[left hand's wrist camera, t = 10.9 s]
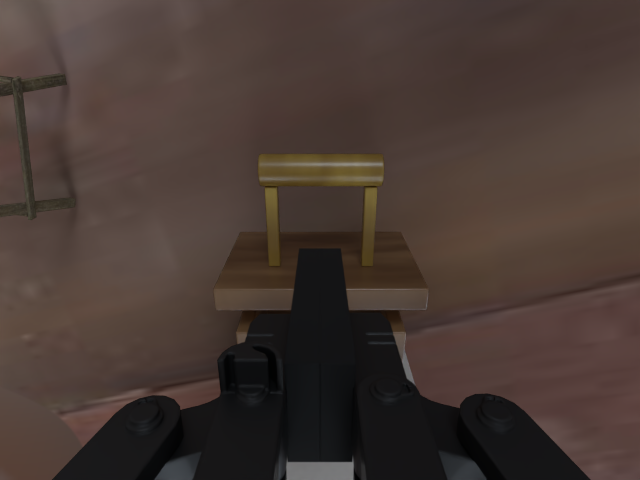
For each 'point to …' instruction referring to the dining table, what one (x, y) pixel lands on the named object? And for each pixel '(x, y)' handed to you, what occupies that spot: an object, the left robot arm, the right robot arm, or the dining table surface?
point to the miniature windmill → (17, 89)
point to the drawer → (356, 247)
